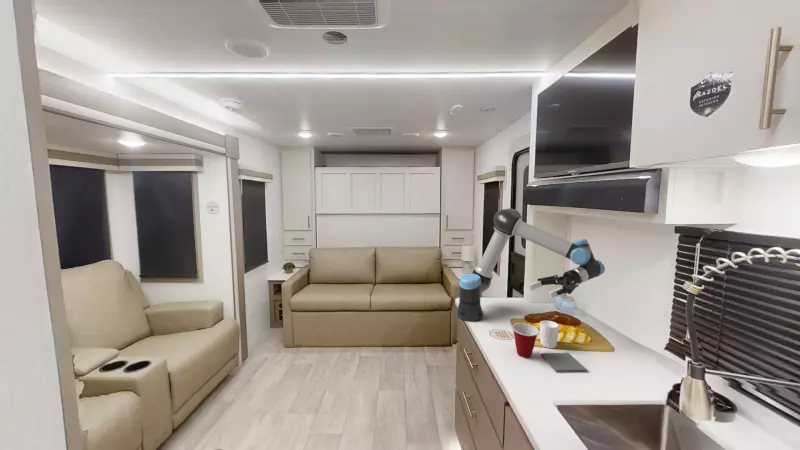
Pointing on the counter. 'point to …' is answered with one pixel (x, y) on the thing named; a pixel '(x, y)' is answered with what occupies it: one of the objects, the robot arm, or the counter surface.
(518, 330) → the plastic cup
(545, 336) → the white cup
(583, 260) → the robot arm
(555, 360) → the charcoal mat
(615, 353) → the counter surface
